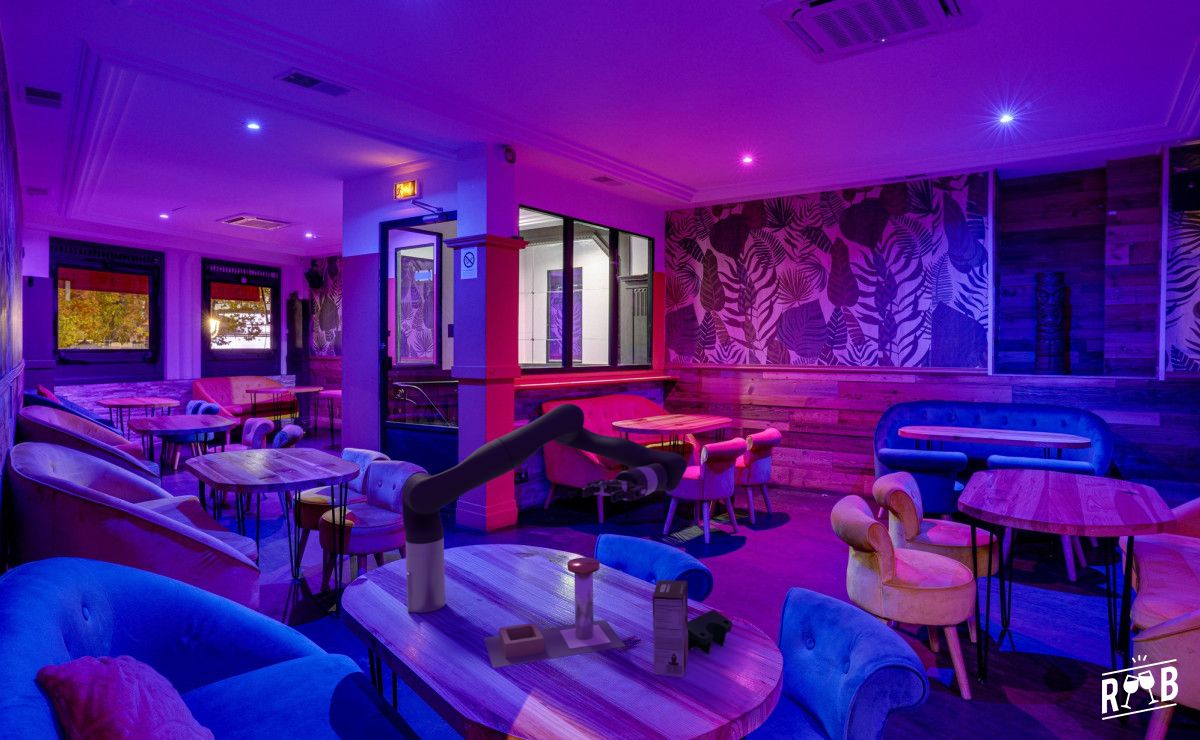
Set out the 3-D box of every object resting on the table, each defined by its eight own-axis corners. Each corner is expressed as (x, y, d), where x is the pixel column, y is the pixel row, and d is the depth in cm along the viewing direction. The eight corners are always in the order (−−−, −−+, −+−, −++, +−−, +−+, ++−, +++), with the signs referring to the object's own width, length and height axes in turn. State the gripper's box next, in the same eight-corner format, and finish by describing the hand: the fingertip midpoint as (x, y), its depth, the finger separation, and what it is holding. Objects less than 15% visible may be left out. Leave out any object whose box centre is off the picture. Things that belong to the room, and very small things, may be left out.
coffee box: (658, 653, 138) (657, 578, 137) (688, 656, 137) (688, 580, 136) (653, 675, 129) (652, 595, 128) (685, 678, 128) (684, 597, 127)
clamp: (701, 674, 138) (697, 645, 133) (679, 658, 142) (675, 630, 137) (736, 638, 144) (734, 609, 140) (714, 623, 148) (712, 595, 144)
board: (493, 675, 130) (492, 653, 130) (483, 644, 143) (483, 624, 143) (625, 653, 138) (625, 632, 138) (605, 625, 152) (605, 606, 151)
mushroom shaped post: (573, 645, 139) (572, 569, 138) (565, 631, 145) (563, 559, 145) (604, 640, 141) (603, 566, 140) (595, 626, 147) (594, 556, 147)
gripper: (613, 465, 170) (573, 476, 157) (660, 471, 161) (621, 483, 148) (614, 493, 170) (574, 506, 157) (660, 501, 162) (622, 515, 149)
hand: (597, 495), depth 153 cm, fingers open, 8 cm apart
